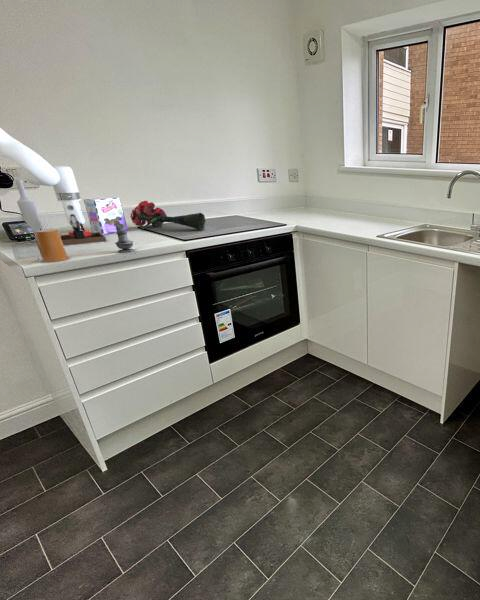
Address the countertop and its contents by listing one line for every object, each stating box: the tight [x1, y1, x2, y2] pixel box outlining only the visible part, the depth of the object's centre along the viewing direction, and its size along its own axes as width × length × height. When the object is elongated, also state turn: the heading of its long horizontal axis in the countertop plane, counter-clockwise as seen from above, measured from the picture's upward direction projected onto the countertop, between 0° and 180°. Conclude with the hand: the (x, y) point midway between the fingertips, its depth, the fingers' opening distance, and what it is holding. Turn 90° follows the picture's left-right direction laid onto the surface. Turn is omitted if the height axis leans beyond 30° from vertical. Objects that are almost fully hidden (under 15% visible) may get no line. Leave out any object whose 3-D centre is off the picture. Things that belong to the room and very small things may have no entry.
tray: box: [60, 232, 107, 246], centre depth 154 cm, size 15×13×2 cm
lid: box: [67, 229, 92, 237], centre depth 154 cm, size 7×7×2 cm
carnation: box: [130, 200, 206, 231], centre depth 186 cm, size 16×18×35 cm
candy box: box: [83, 196, 128, 236], centre depth 171 cm, size 14×6×16 cm, turn 171°
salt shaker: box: [114, 222, 135, 254], centre depth 139 cm, size 6×6×12 cm
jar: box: [34, 228, 69, 263], centre depth 124 cm, size 7×7×11 cm
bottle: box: [14, 179, 44, 243], centre depth 148 cm, size 5×5×25 cm
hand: (81, 238), depth 154 cm, fingers closed on lid, 7 cm apart
